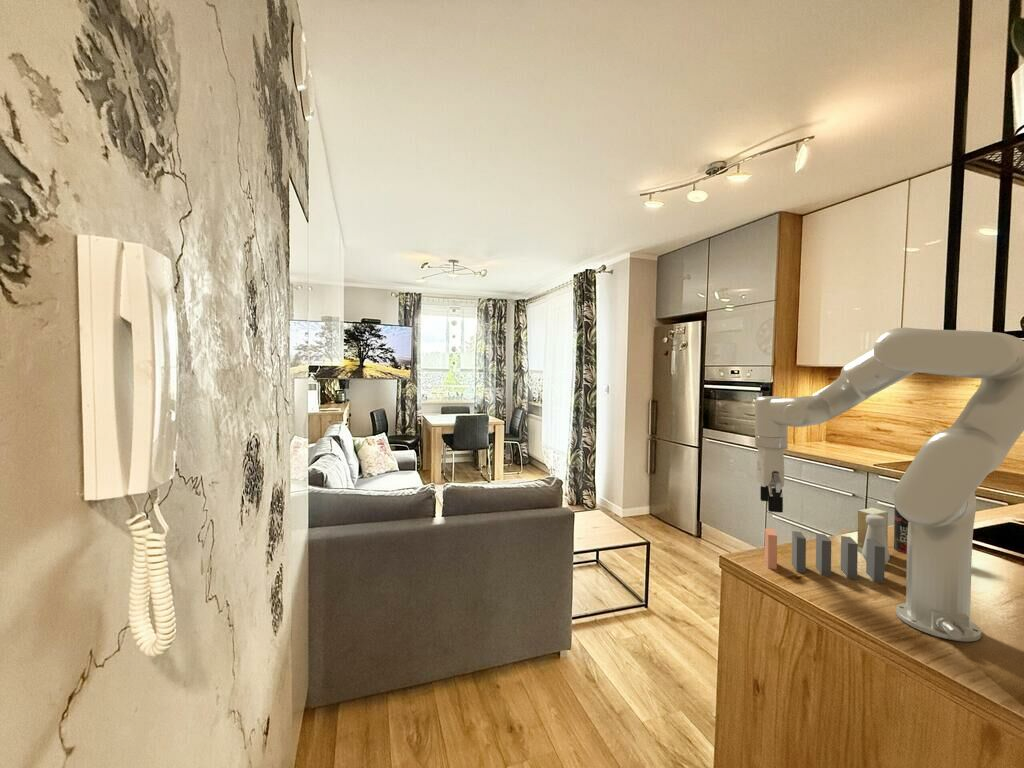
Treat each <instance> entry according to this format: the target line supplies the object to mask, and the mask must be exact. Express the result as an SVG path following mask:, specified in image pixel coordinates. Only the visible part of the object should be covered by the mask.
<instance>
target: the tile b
mask: <svg viewBox="0 0 1024 768" xmlns="http://www.w3.org/2000/svg"><path fill="white" fill-rule="evenodd" d="M815 535H816V536H815V568H816V569H817V571H818V572H819V574H820V575H821V576H825V577H831V576H832V540H830V538H829V537H828V535H827V534H825V533H816V534H815Z"/></svg>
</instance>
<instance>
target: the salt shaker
mask: <svg viewBox="0 0 1024 768" xmlns="http://www.w3.org/2000/svg"><path fill="white" fill-rule="evenodd" d="M866 523H867V524H868V529H867V533H866V537H865V542H864V546H863V550H862V553H861V555H862V557H863V559H864V560H865V561H866V552H867V539H875V540H877V541H878V542H880V543H881V544H882V545H883V546H884V547H885V566H886V565H887V564H888V562H889V561H890V557H891V556H890V552H889V548H888V546H889V545H888V546H887V541H886V537H885V532H884V527H883V526H886V519H885V518H884V517H882V516H879V515H873V514H870V515H867V516H866Z"/></svg>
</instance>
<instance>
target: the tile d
mask: <svg viewBox="0 0 1024 768" xmlns="http://www.w3.org/2000/svg"><path fill="white" fill-rule="evenodd" d="M865 562H866V565H865V566H866V567H865V569H866V570H865V574H866V573H867V574H868V575H869V576H870V577H871V578H872V579H873V580H872V579H871V578H870V577H869V576H868V575H867V574H866V575H867V576H868V577H869V578H870V579H871V580H872V582H874V583H878V582H881V583H880V584H885V569H886V568H885V567H886V565H885V547H884V546H883V545H882V544H881V543H880V542H878V541H877V540H875V539H867V552H866V560H865Z"/></svg>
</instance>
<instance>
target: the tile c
mask: <svg viewBox="0 0 1024 768" xmlns="http://www.w3.org/2000/svg"><path fill="white" fill-rule="evenodd" d="M841 570H842V571H843V572H842V571H841ZM840 571H841V572H842V574H843V573H844V574H845V575H846V576H845V575H844V574H843V575H844V576H845V578H846V579H847V578H853V579H852V580H855V579H857V580H858V542H856V540H854V539H853V538H852V537H851V536H843V535H840Z"/></svg>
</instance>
